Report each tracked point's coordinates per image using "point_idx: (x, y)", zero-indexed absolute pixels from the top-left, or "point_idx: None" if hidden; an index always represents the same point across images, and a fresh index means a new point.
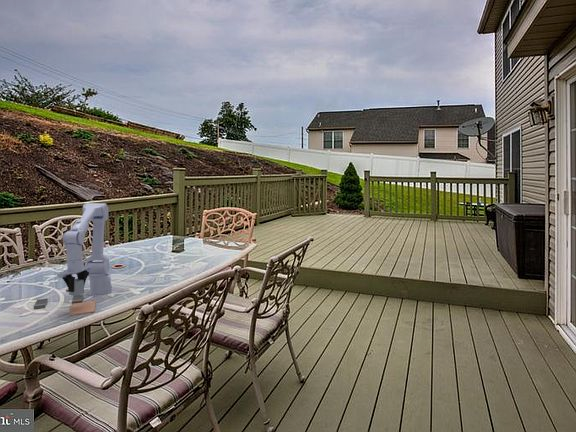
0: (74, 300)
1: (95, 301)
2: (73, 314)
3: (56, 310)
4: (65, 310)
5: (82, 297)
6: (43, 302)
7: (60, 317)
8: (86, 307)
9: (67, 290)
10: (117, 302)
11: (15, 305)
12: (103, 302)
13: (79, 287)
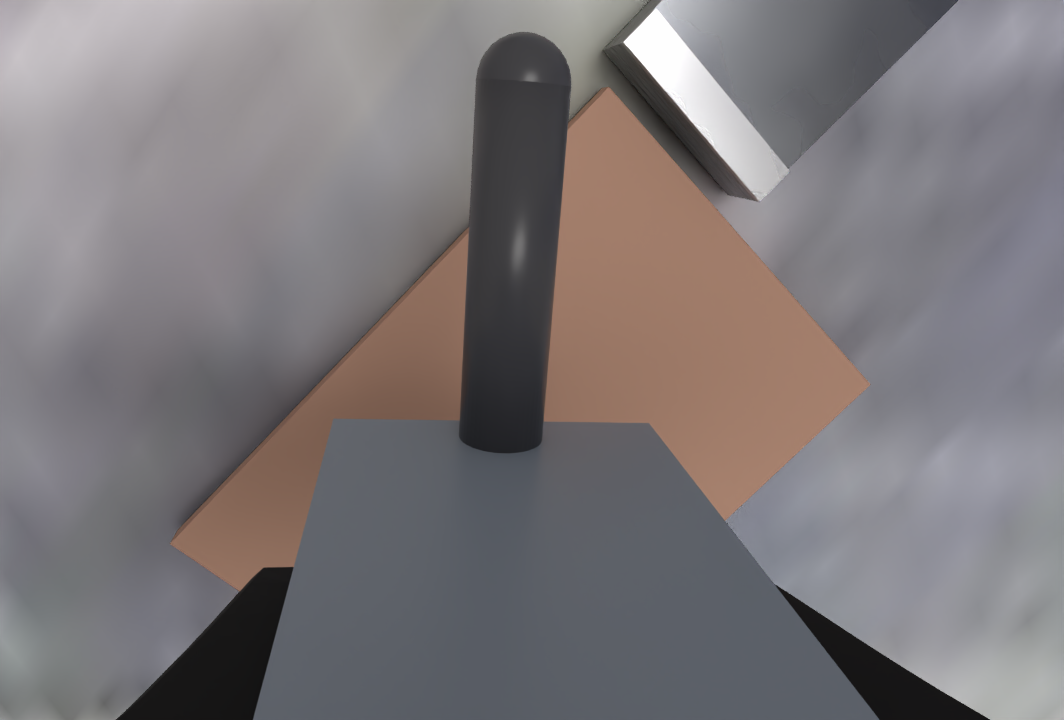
0: (682, 67)
1: (841, 406)
2: (226, 574)
3: (243, 11)
4: (335, 199)
5: (908, 44)
6: None
7: (56, 430)
8: None
9: (486, 157)
10: (938, 663)
11: None
12: (887, 482)
13: None
